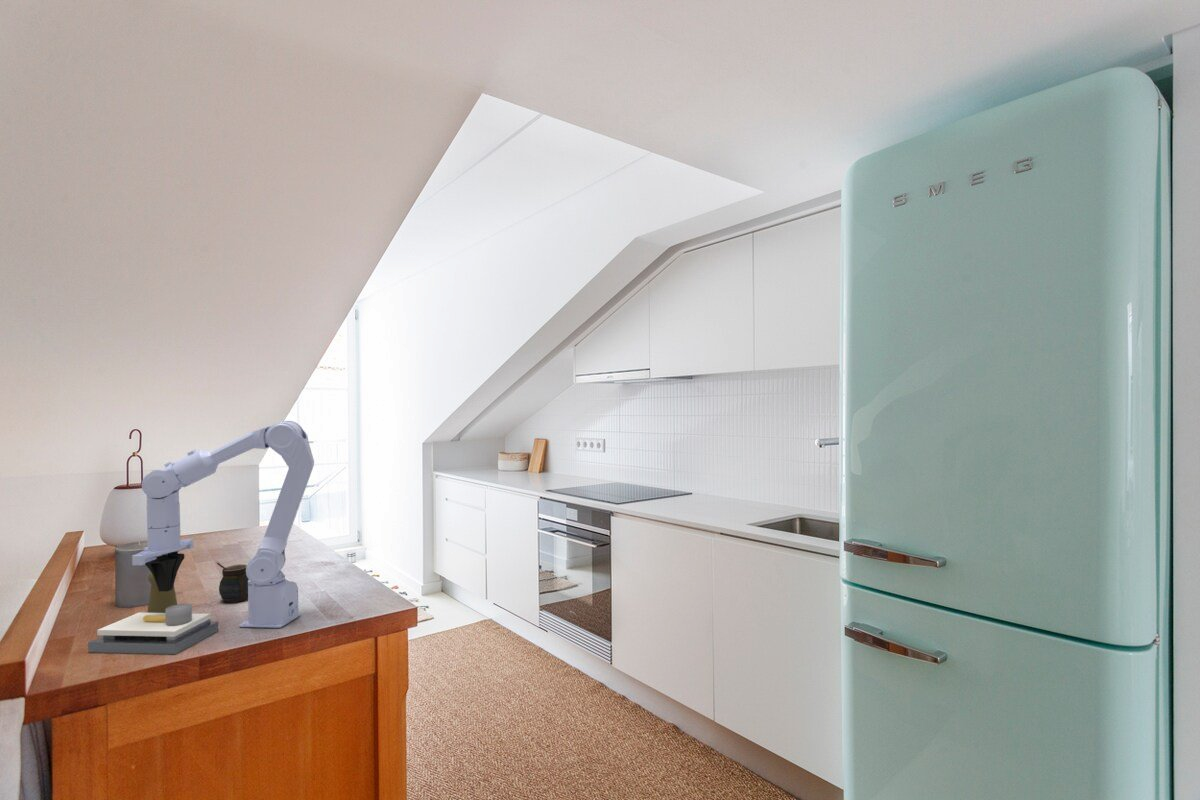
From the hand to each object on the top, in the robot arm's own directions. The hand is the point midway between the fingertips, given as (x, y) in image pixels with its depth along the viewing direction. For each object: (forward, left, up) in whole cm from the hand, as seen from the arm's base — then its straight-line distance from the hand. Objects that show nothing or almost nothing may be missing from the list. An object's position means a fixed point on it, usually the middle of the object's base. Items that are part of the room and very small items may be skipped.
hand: (165, 590), depth 132 cm
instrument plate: (-2, +5, -6) cm, 8 cm away
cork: (+8, -9, -9) cm, 15 cm away
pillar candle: (+22, -19, -9) cm, 31 cm away
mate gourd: (-1, -21, -9) cm, 23 cm away
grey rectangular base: (-2, +5, -9) cm, 10 cm away
